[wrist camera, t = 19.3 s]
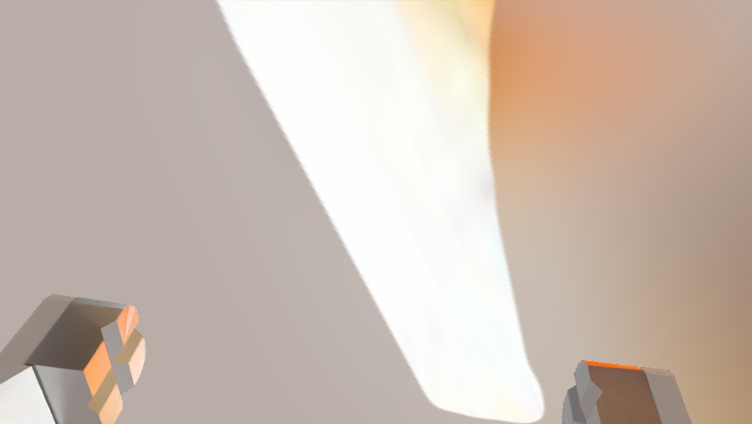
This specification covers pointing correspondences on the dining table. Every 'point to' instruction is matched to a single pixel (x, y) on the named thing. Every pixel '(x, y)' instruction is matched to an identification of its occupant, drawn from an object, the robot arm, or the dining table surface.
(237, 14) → the dining table surface
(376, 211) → the dining table surface
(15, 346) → the robot arm
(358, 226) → the dining table surface
